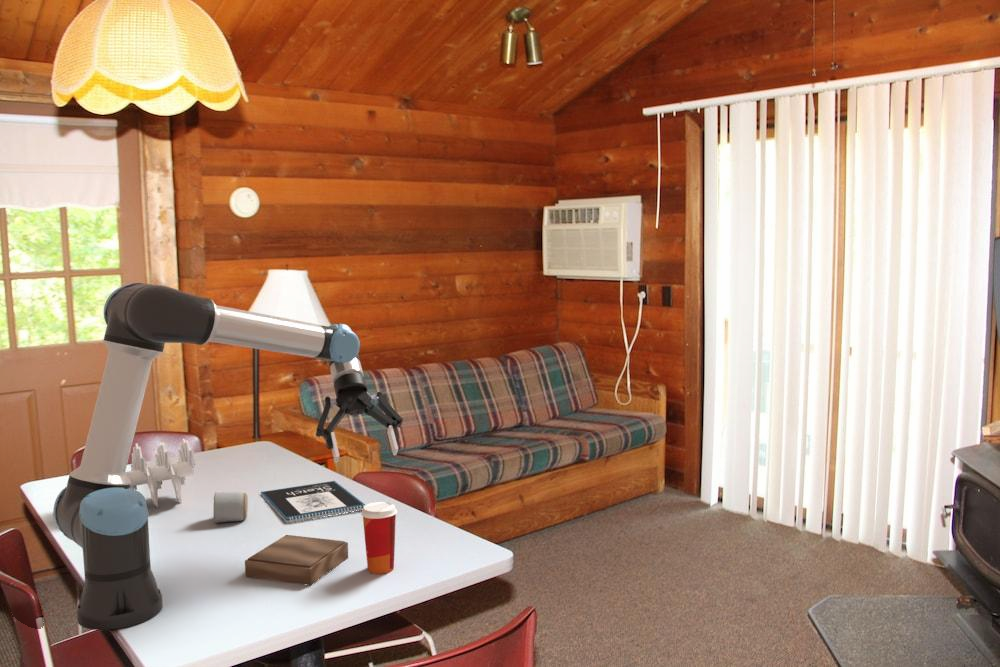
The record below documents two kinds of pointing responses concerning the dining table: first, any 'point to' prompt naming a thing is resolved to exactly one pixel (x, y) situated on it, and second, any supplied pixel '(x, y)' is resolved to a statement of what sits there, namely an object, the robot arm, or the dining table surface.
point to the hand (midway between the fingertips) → (366, 456)
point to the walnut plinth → (296, 559)
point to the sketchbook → (312, 501)
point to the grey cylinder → (230, 506)
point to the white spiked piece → (161, 469)
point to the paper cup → (379, 536)
